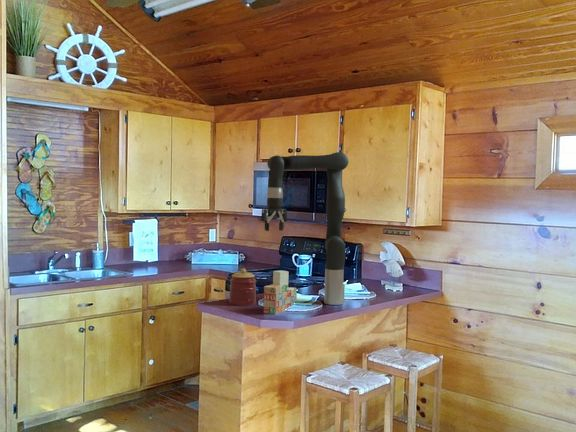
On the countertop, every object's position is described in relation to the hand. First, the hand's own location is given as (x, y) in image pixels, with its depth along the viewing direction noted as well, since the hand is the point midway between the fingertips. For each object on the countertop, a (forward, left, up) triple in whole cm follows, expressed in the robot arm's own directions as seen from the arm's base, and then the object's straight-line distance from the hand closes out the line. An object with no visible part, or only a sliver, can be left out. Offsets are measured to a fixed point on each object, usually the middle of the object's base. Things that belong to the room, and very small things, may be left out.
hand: (274, 230), depth 268 cm
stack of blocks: (+4, +12, -36) cm, 39 cm away
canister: (+12, -8, -36) cm, 39 cm away
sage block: (+6, +13, -24) cm, 28 cm away
